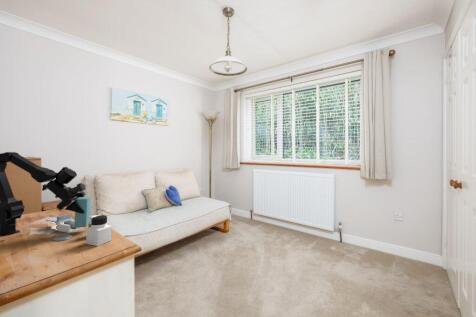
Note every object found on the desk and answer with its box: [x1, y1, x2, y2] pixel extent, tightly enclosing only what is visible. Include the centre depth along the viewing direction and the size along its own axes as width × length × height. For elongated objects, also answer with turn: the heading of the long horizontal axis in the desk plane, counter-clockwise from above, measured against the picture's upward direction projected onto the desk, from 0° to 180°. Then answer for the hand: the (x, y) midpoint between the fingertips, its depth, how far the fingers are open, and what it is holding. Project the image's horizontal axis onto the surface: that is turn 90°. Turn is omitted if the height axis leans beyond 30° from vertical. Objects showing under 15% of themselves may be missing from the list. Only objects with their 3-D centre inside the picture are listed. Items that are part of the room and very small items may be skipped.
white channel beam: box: [56, 219, 83, 234], centre depth 115 cm, size 13×7×4 cm, turn 71°
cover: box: [45, 213, 74, 224], centre depth 116 cm, size 10×7×3 cm
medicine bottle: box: [85, 214, 113, 247], centre depth 99 cm, size 7×7×12 cm
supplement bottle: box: [87, 214, 99, 228], centre depth 107 cm, size 5×5×10 cm
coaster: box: [53, 234, 73, 242], centre depth 102 cm, size 7×7×1 cm
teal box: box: [74, 196, 92, 228], centre depth 111 cm, size 5×5×14 cm
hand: (85, 211), depth 111 cm, fingers closed on teal box, 5 cm apart
